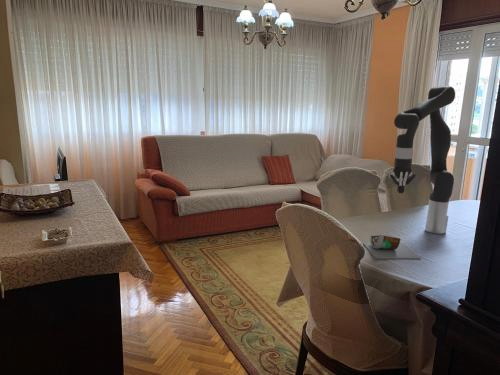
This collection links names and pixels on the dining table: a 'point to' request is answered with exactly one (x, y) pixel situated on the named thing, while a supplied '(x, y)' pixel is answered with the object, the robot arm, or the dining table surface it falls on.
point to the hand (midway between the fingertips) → (400, 193)
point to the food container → (384, 242)
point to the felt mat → (392, 252)
